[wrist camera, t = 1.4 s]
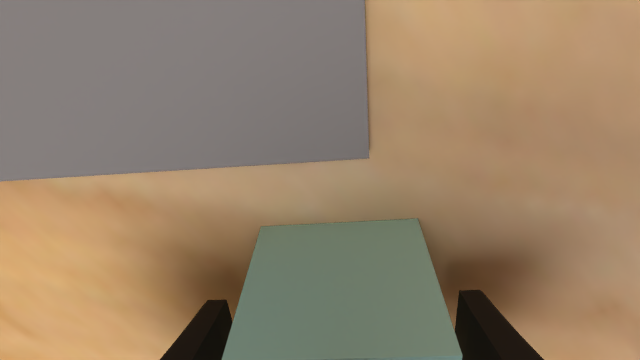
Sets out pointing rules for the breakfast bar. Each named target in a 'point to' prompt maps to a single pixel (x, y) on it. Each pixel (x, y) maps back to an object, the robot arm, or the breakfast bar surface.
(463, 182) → the breakfast bar surface
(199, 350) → the robot arm
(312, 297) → the block
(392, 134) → the breakfast bar surface
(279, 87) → the mat
